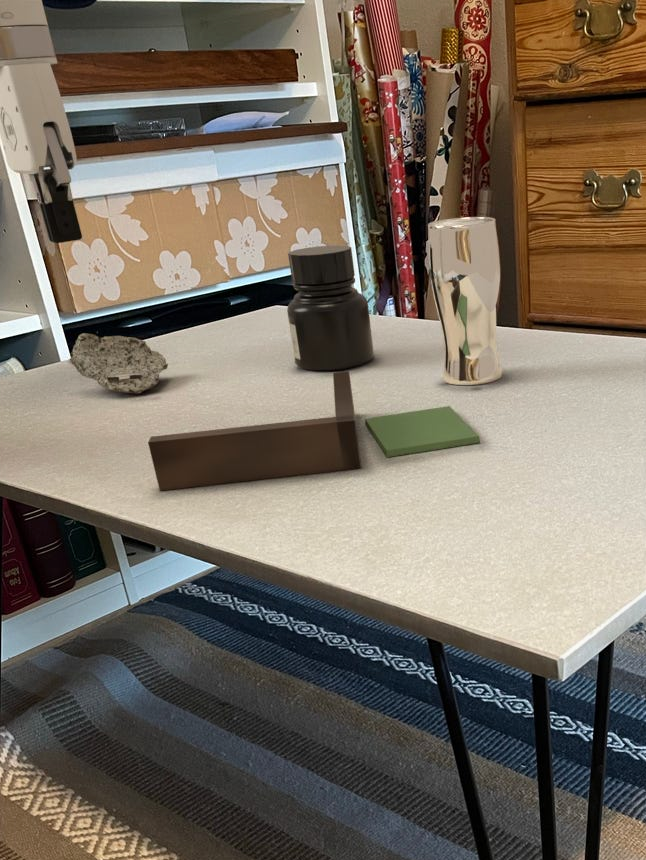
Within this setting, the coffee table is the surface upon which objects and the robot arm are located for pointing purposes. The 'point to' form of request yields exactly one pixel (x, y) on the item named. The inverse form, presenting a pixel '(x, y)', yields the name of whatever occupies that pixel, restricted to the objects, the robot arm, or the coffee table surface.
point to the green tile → (421, 431)
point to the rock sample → (117, 362)
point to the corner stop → (261, 448)
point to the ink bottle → (327, 310)
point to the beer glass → (466, 296)
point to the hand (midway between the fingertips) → (66, 240)
